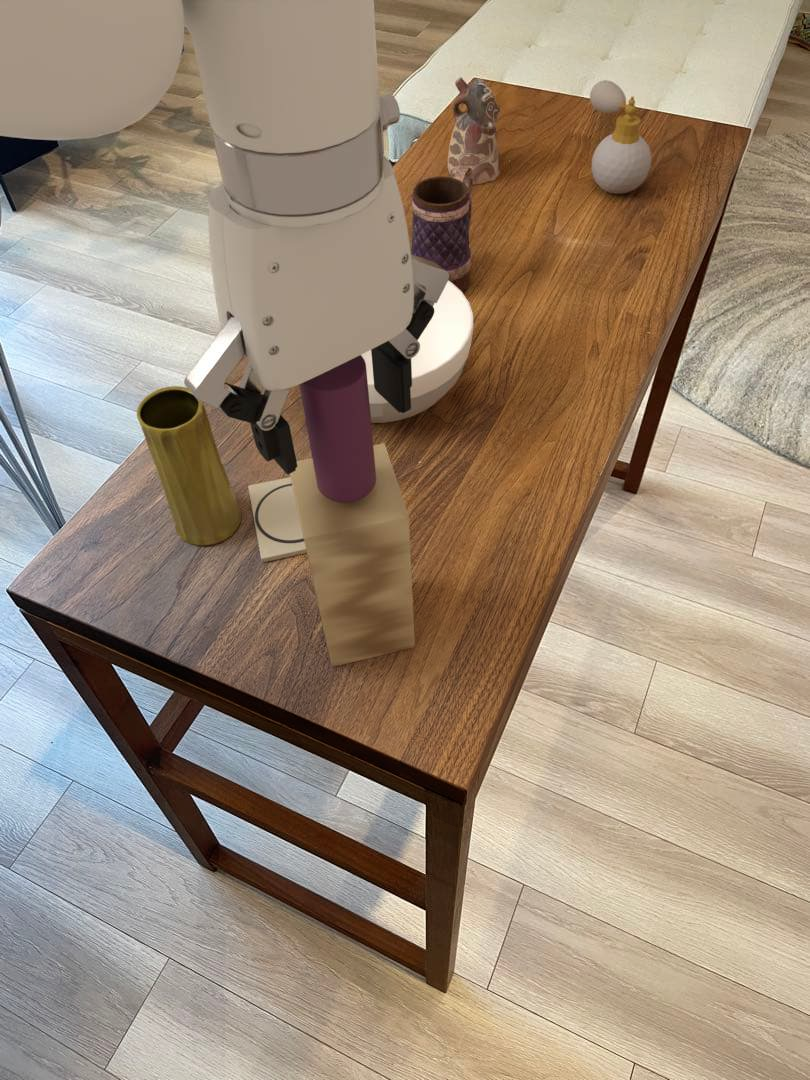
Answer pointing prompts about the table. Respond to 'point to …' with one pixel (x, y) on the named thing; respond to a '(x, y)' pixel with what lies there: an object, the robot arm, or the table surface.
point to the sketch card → (276, 519)
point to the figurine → (475, 131)
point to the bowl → (431, 358)
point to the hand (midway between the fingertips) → (337, 427)
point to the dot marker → (341, 431)
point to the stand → (359, 564)
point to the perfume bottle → (619, 143)
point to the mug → (444, 223)
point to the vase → (189, 465)
